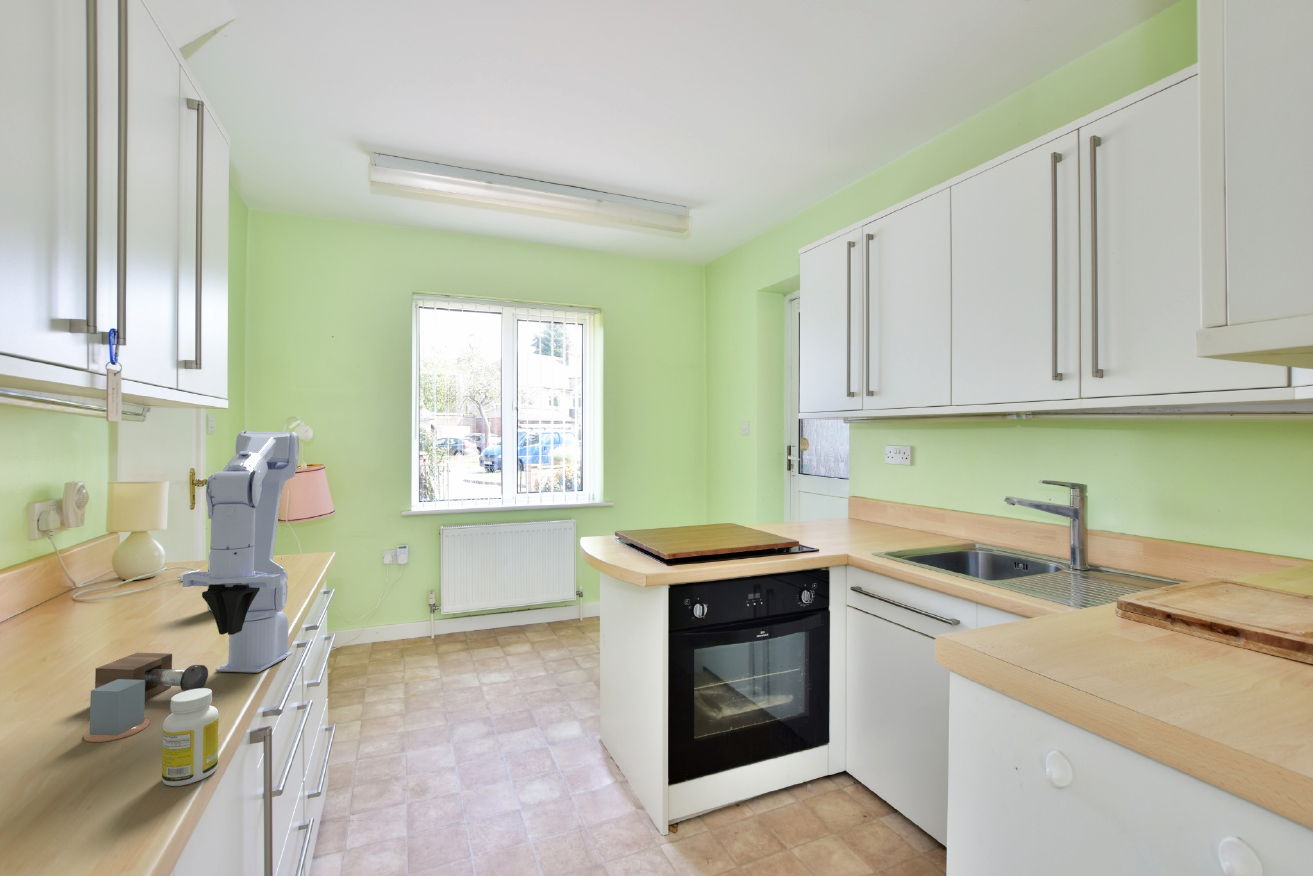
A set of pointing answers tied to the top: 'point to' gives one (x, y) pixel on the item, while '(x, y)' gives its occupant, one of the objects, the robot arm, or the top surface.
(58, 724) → the top surface
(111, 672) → the rod housing
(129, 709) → the block
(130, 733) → the plate
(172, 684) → the rod
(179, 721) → the supplement bottle
